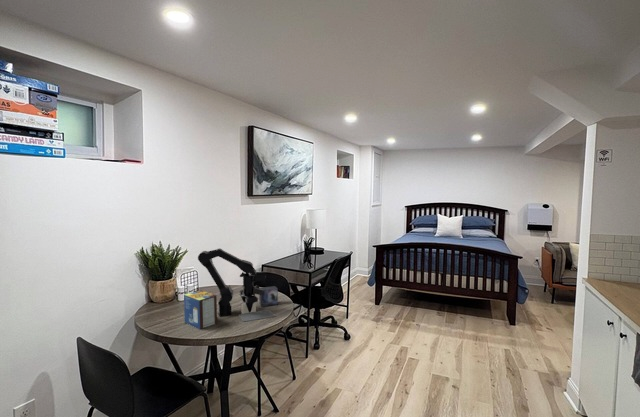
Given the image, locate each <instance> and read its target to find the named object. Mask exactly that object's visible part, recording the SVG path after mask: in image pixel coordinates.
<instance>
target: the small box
mask: <svg viewBox="0 0 640 417" xmlns="http://www.w3.org/2000/svg"><path fill="white" fill-rule="evenodd" d="M260 288H261V289H262V290H263V293H262V295H258V296H259V299H258V300H259V303H258V304H259V306H260V307H261V308H262V307H263V308H264V307H269V306H270V307H272V306H278V305H279V303H278V301H279V300H278V299H279V293H278V292H279V291H278V290H279V288H278V287H277V286H275V285H272V286H265V287H264V286H263V287H260Z"/></svg>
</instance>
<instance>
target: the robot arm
mask: <svg viewBox="0 0 640 417" xmlns="http://www.w3.org/2000/svg"><path fill="white" fill-rule="evenodd" d="M217 257H218V258H221V259H223V260H225V261H227V262H229V263H231V264H232V265H234V266H236V267H238V269H239V270H241V271H242V273H240V274H239V277H240V278H242V285H241V287H242V289H240V291H239V296H240V298H241V300H242V303H246V306H247V308H248V311H249V312H251V310H252V306H253V303H254V302H256V303H257V302H258V300H259V299H258V297H257V296H256V295H258V296H259V295H262V293H263V290H262V289H261V288H262V287H260V286H259V285H257V284H266V283H267V275H266V271H265V270H263V271H257V270H256V269H255V267H254V264H253V262H251V261H249V260H246V259H245V260H244V259H241V258H239V257H237V256H235V255H233V254H231V253H229V252H227V251H225V250H224V249H222V248H217V249H213V250H208V251H207V250H203V251H201V252H200V253H199V254H198V256H197V260H198V262H199V263H200V264H201V265H202V266H203V268H204V267H205V269H206V270H207V272H208V273H209V275H210V276H211V279H212V280H213V282H214V283H215V285H216V286H217V288H218V290H219V293H220V294H219V295H220V298H219V300H218V302H217V305H218V306H217V315H218V316H219V317H227V316H231V315H232V304H231V301H232V300H233V297H234V289H232V287H231V285H227V284H226V283H225V282H224V280H223V278H222V277H221V275H220V273H219V271H218V269H216V266H215V264H214V262H213V259H215V258H217ZM254 283H255V284H256V285H254Z"/></svg>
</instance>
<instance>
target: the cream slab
mask: <svg viewBox="0 0 640 417" xmlns="http://www.w3.org/2000/svg"><path fill="white" fill-rule="evenodd" d="M256 303H257V302H254V303H253V306H252V310H251V312H256V311H257V304H256ZM240 310H241V312H240V314H244V313H250V312H249V311H248V308H247V306H246V303H243V302H241V304H240Z"/></svg>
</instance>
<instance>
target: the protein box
mask: <svg viewBox="0 0 640 417" xmlns="http://www.w3.org/2000/svg"><path fill="white" fill-rule="evenodd" d="M217 300H218V299H217V294H215V293H210V292H209V291H208V292H207V291H204V290H197V291H194V292H188V293H184V294H183V301H184V303H183V306H184V310H183V311H184V323H185V324H187V323H188V324H187V325H189V324H190V325H189V326H191V325H192V326H191V327H193V326H194V327H193V328H195V327H196V328H195V329H197V328H198V330H203V329H206V328H208V327H211V326H214V325H217V324H218V306H217V305H218V302H217Z"/></svg>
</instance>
